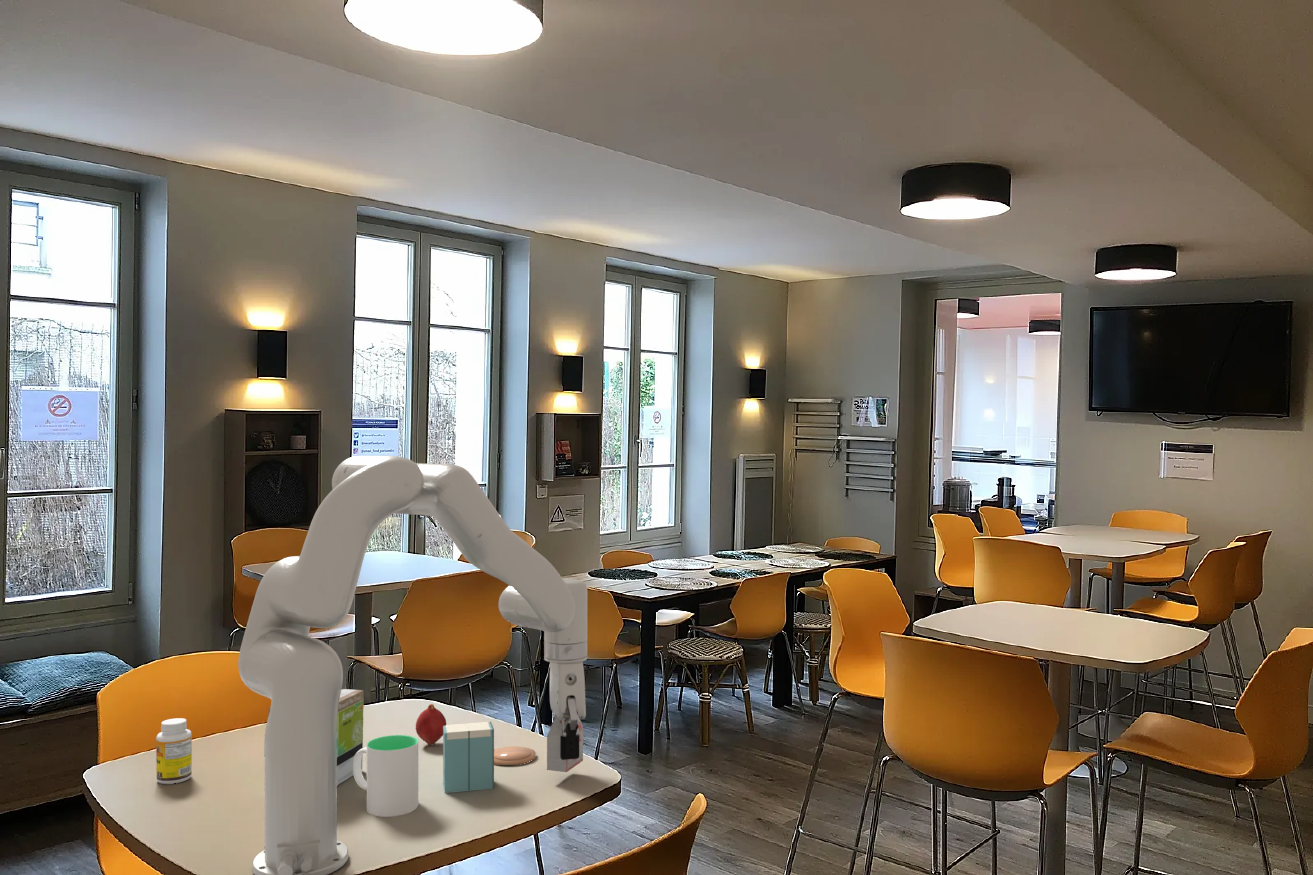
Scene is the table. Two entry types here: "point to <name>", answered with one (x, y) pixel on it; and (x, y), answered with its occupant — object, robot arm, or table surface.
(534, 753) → the saucer
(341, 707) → the tea box
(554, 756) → the white gable carton
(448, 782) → the teal and cream box
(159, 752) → the supplement bottle
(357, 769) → the mug
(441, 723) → the onion
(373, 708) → the table surface
